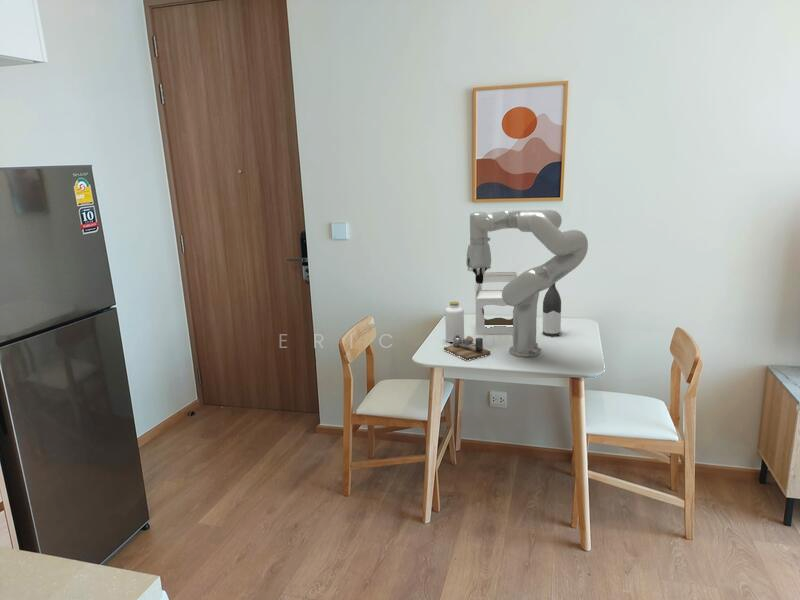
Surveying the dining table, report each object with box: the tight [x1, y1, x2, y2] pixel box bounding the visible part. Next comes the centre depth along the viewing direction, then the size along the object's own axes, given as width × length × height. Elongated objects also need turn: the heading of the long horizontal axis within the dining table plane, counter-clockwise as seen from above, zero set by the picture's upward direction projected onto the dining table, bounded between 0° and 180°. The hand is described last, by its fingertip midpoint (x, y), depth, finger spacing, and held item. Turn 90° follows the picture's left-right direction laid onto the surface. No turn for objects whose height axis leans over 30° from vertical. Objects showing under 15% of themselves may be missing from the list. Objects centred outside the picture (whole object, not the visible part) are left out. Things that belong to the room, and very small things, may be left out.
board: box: [443, 335, 491, 361], centre depth 240 cm, size 16×12×6 cm
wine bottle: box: [542, 283, 562, 338], centre depth 256 cm, size 8×8×30 cm
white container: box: [444, 301, 465, 343], centre depth 254 cm, size 8×8×18 cm
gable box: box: [474, 271, 518, 335], centre depth 266 cm, size 22×13×28 cm, turn 83°
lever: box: [452, 337, 484, 352], centre depth 240 cm, size 15×4×5 cm, turn 43°
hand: (479, 282), depth 247 cm, fingers closed
